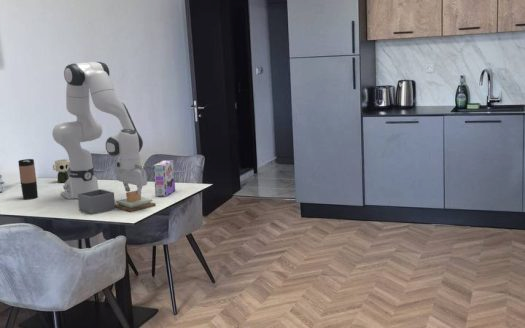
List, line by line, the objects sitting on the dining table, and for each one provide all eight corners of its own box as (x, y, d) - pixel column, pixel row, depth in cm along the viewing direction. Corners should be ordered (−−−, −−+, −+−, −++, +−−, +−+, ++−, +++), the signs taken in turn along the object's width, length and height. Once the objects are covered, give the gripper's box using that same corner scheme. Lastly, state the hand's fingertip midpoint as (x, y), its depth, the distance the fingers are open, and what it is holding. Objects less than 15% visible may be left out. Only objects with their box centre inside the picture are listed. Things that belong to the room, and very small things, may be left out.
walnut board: (114, 207, 270) (113, 205, 270) (139, 201, 280) (139, 199, 279) (130, 212, 260) (129, 209, 260) (155, 205, 270) (155, 203, 270)
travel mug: (25, 196, 301) (20, 159, 298) (40, 195, 302) (35, 158, 298) (20, 200, 294) (15, 162, 290) (35, 199, 295) (31, 161, 291)
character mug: (57, 184, 329) (55, 162, 327) (51, 183, 334) (49, 161, 332) (75, 181, 337) (72, 159, 335) (69, 179, 342) (66, 158, 339)
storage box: (79, 210, 267) (77, 194, 266) (102, 205, 276) (100, 189, 274) (92, 214, 259) (90, 197, 257) (115, 209, 267) (113, 192, 266)
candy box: (166, 197, 287) (163, 164, 284) (155, 196, 288) (152, 164, 285) (175, 190, 300) (173, 159, 297) (165, 190, 301) (162, 160, 298)
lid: (116, 205, 270) (115, 192, 269) (138, 199, 278) (137, 187, 277) (130, 208, 261) (129, 196, 260) (152, 203, 270) (151, 191, 269)
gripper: (149, 165, 261) (151, 194, 264) (125, 160, 275) (127, 188, 278) (137, 167, 257) (139, 197, 259) (113, 162, 271) (116, 191, 274)
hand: (133, 192), depth 269 cm, fingers open, 8 cm apart
